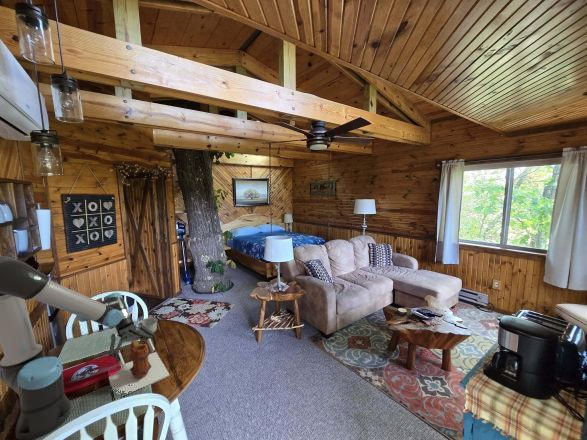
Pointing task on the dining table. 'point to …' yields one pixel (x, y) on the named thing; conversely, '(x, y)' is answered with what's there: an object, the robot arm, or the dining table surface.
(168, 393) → the dining table surface
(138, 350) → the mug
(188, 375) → the dining table surface
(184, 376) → the dining table surface
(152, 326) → the teacup
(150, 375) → the placemat
